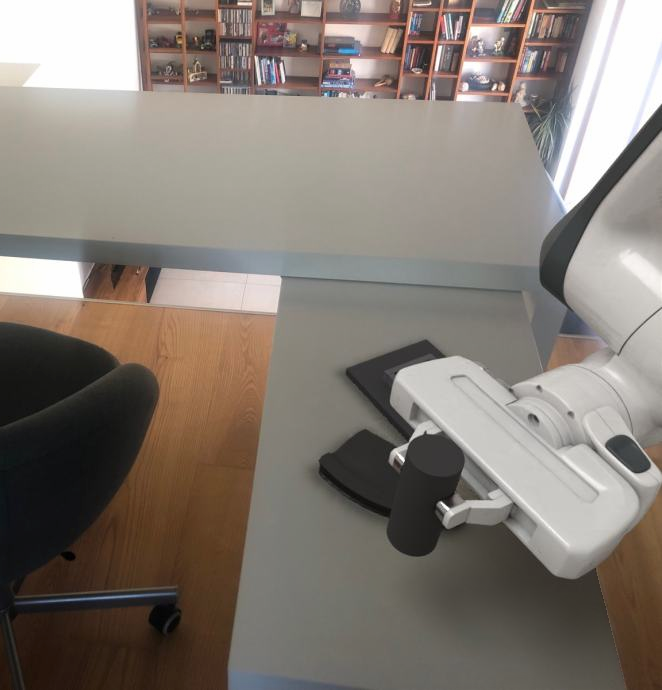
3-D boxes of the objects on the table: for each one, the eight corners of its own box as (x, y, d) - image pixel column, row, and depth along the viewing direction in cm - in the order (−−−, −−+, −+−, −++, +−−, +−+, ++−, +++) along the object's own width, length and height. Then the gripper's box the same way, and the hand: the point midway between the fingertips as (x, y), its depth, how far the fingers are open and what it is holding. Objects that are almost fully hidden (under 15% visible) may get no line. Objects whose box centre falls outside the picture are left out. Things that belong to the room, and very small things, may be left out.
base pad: (505, 417, 78) (511, 402, 76) (419, 454, 74) (424, 439, 72) (424, 344, 87) (428, 329, 86) (345, 374, 84) (347, 358, 82)
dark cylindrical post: (447, 541, 56) (477, 460, 49) (411, 565, 54) (437, 485, 48) (411, 507, 58) (434, 425, 52) (376, 529, 57) (395, 448, 50)
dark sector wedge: (421, 557, 65) (424, 547, 64) (313, 471, 73) (314, 461, 72) (472, 508, 69) (476, 498, 68) (364, 431, 77) (366, 421, 76)
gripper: (474, 325, 61) (343, 373, 57) (685, 495, 47) (531, 576, 43) (459, 377, 65) (335, 425, 61) (648, 547, 51) (504, 626, 47)
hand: (417, 489), depth 52 cm, fingers closed on dark cylindrical post, 4 cm apart
